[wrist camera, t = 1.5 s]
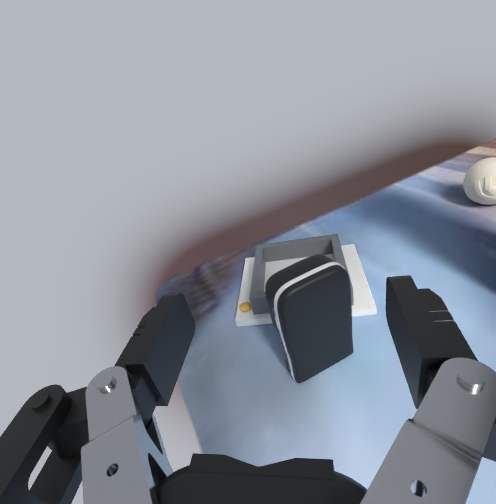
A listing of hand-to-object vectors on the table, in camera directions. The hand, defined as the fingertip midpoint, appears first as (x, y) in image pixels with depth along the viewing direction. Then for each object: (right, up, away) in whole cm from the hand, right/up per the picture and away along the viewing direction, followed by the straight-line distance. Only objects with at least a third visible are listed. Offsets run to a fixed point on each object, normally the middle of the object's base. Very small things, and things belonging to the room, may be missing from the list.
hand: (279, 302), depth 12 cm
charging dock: (+6, -2, +29) cm, 30 cm away
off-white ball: (+35, +9, +35) cm, 51 cm away
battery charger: (+6, -9, +19) cm, 22 cm away
